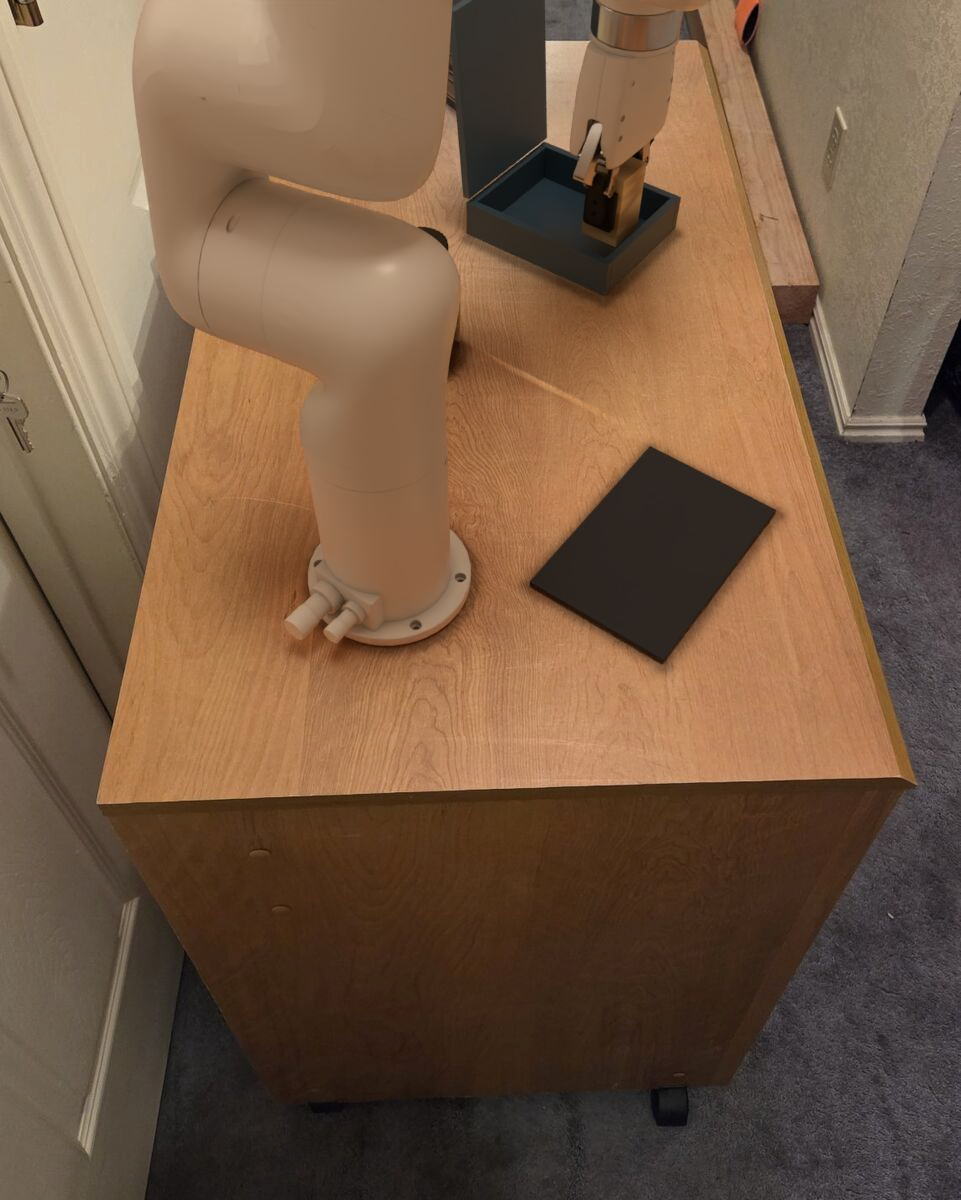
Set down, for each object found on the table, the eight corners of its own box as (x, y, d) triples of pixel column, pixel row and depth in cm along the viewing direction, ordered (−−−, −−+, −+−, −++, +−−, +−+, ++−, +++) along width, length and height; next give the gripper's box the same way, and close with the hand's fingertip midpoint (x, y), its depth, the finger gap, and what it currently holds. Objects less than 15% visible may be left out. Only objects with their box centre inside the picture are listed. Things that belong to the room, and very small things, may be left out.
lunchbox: (674, 234, 107) (681, 197, 104) (603, 302, 101) (608, 265, 97) (541, 178, 113) (543, 141, 109) (466, 239, 106) (466, 202, 103)
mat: (662, 664, 77) (663, 659, 76) (529, 585, 81) (529, 581, 80) (774, 514, 85) (776, 509, 85) (649, 450, 89) (650, 445, 89)
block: (615, 247, 101) (624, 181, 95) (581, 232, 102) (588, 166, 97) (637, 228, 103) (647, 162, 97) (603, 213, 104) (610, 148, 99)
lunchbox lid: (544, -47, 95) (537, -48, 95) (454, 11, 89) (447, 9, 89) (547, 138, 109) (541, 136, 109) (469, 199, 102) (462, 197, 103)
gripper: (649, -30, 92) (623, 164, 106) (542, 43, 84) (530, 241, 98) (724, -6, 89) (687, 189, 104) (621, 72, 81) (597, 271, 96)
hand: (611, 213), depth 101 cm, fingers closed on block, 4 cm apart
